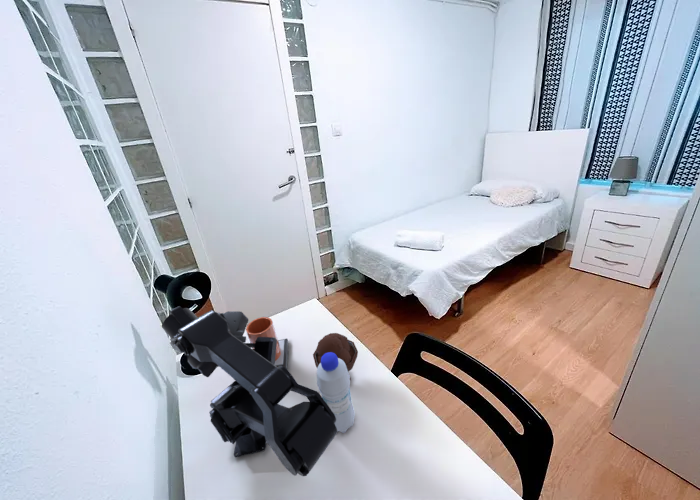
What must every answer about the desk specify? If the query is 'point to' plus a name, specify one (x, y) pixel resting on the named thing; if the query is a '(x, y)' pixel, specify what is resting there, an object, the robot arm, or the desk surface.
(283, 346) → the scale
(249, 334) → the tumbler
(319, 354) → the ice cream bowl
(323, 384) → the bottle
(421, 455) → the desk surface
